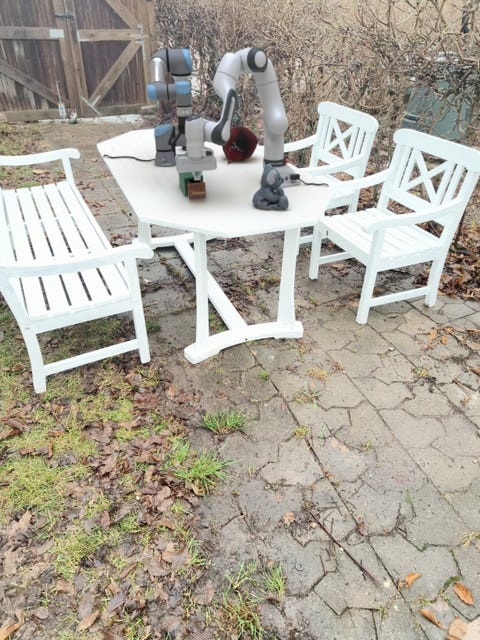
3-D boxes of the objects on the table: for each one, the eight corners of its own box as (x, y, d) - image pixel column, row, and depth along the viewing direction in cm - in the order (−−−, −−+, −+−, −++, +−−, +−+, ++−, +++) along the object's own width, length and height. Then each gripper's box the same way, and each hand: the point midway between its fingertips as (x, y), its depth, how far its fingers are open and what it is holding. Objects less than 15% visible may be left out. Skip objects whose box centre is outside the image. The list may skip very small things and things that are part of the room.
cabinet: (204, 194, 244) (203, 176, 238) (185, 196, 242) (183, 177, 236) (197, 183, 260) (196, 166, 254) (179, 185, 257) (178, 167, 252)
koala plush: (289, 210, 223) (292, 171, 212) (253, 212, 222) (254, 172, 211) (284, 198, 237) (286, 161, 226) (250, 200, 236) (250, 162, 225)
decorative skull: (218, 132, 305) (218, 129, 282) (252, 124, 304) (255, 121, 281) (225, 164, 312) (225, 164, 288) (258, 157, 311) (261, 156, 288)
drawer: (208, 201, 232) (207, 186, 228) (190, 203, 231) (189, 187, 226) (199, 187, 251) (198, 172, 247) (183, 188, 249) (182, 174, 245)
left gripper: (161, 118, 228) (165, 160, 241) (209, 115, 234) (211, 157, 246) (159, 115, 234) (164, 157, 247) (206, 112, 240) (208, 153, 252)
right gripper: (175, 154, 215) (177, 183, 223) (217, 151, 219) (218, 180, 227) (173, 151, 220) (176, 179, 228) (214, 148, 224) (215, 176, 232)
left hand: (187, 157), depth 246 cm, fingers open, 13 cm apart
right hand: (197, 179), depth 227 cm, fingers closed
